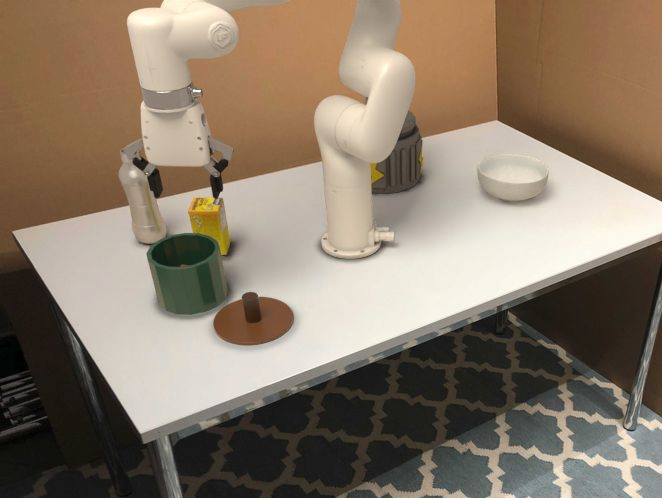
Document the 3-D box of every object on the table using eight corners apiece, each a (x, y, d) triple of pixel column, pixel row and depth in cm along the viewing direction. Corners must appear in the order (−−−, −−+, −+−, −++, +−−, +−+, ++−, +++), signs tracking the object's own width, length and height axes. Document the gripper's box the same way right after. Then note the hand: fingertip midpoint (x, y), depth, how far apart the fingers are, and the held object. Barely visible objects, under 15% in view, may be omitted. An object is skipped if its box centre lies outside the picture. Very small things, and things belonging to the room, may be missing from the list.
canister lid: (299, 302, 146) (295, 275, 142) (287, 348, 135) (283, 320, 131) (224, 300, 146) (218, 273, 142) (205, 347, 135) (199, 318, 131)
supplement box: (202, 243, 162) (193, 196, 155) (231, 243, 162) (223, 196, 155) (197, 258, 157) (187, 211, 150) (227, 258, 157) (218, 211, 151)
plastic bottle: (159, 249, 159) (137, 159, 147) (129, 244, 160) (104, 155, 147) (174, 234, 164) (154, 145, 152) (145, 230, 165) (123, 141, 152)
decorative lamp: (356, 158, 197) (350, 37, 178) (428, 165, 196) (429, 44, 177) (336, 191, 182) (327, 63, 164) (414, 199, 181) (414, 71, 162)
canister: (234, 280, 151) (225, 233, 145) (219, 317, 142) (210, 269, 135) (169, 278, 151) (158, 232, 144) (150, 316, 141) (137, 268, 134)
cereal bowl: (557, 191, 187) (561, 164, 183) (525, 218, 176) (527, 190, 171) (498, 172, 194) (500, 146, 189) (462, 197, 183) (464, 169, 178)
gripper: (229, 87, 123) (243, 185, 134) (118, 85, 122) (141, 184, 132) (220, 105, 117) (236, 205, 128) (103, 103, 116) (129, 204, 126)
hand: (188, 194), depth 130 cm, fingers open, 9 cm apart
